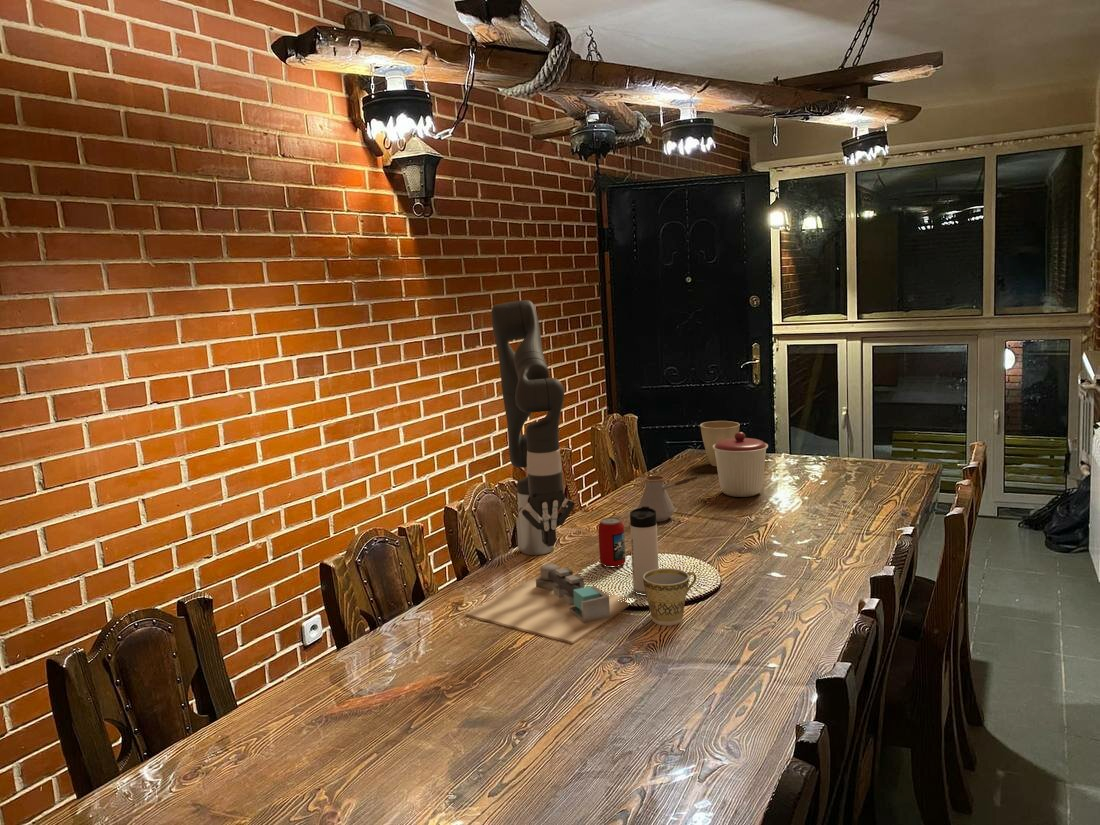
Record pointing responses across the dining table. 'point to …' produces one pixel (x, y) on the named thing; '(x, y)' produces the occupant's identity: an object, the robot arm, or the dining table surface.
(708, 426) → the plant pot
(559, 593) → the clip
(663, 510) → the coffee pot
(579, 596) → the cable arm
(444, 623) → the dining table surface
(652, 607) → the ceramic cup
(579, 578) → the clip
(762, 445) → the canister
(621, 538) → the beverage can
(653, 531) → the travel mug
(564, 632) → the board
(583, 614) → the end holder
